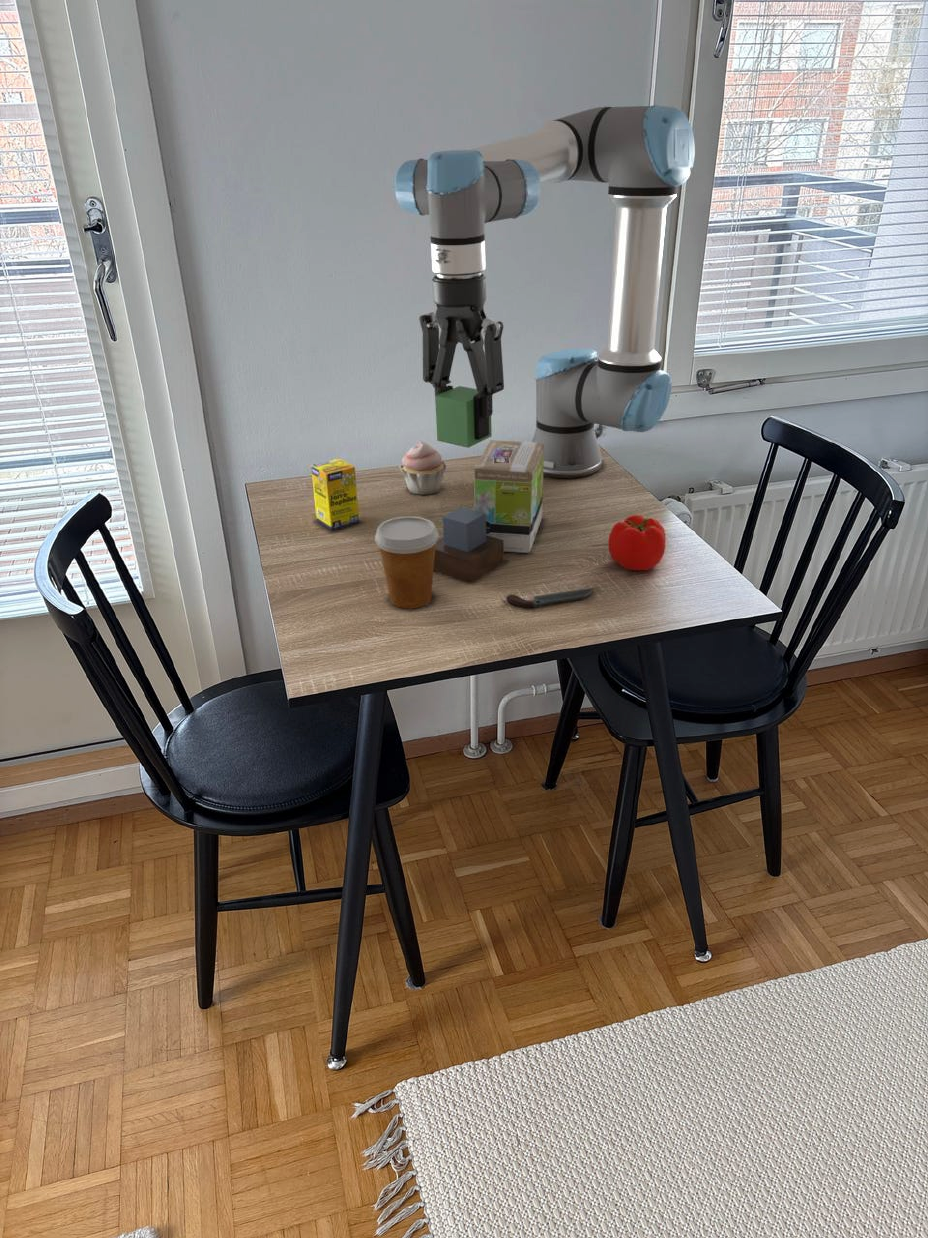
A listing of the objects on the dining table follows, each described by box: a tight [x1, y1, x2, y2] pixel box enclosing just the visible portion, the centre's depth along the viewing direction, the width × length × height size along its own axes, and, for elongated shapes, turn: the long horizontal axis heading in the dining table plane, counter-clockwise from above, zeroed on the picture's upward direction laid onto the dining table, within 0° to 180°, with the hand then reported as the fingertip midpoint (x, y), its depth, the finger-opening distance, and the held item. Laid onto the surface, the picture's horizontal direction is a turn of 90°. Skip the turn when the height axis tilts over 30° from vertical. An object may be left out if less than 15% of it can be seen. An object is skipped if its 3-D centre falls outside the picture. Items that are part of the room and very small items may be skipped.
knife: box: [506, 586, 596, 608], centre depth 142 cm, size 14×4×1 cm, turn 104°
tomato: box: [607, 514, 667, 571], centre depth 150 cm, size 9×9×8 cm
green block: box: [434, 385, 493, 449], centre depth 141 cm, size 6×6×7 cm
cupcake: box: [398, 439, 448, 496], centre depth 180 cm, size 9×9×10 cm
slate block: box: [441, 506, 486, 552], centre depth 150 cm, size 5×5×5 cm
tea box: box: [473, 439, 544, 554], centre depth 159 cm, size 15×10×15 cm, turn 168°
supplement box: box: [310, 458, 360, 532], centre depth 167 cm, size 6×6×11 cm
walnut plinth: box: [433, 535, 505, 584], centre depth 152 cm, size 9×9×4 cm
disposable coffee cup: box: [374, 515, 439, 609], centre depth 141 cm, size 10×10×12 cm
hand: (464, 432), depth 142 cm, fingers closed on green block, 6 cm apart
